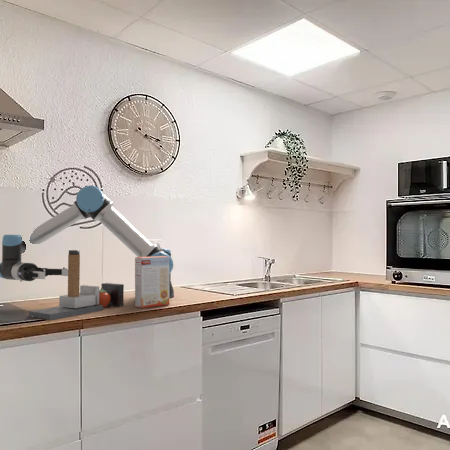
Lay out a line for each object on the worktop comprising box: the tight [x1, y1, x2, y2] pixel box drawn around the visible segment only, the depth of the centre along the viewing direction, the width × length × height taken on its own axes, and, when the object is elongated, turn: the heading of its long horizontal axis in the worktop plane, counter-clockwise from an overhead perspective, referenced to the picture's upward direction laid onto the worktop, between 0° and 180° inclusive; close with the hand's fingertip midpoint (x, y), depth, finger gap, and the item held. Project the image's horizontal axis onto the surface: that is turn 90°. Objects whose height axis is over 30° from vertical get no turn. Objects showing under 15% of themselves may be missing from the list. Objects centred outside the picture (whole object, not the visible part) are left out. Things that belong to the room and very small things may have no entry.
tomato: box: [98, 288, 111, 309], centre depth 181 cm, size 7×7×8 cm
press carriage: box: [58, 249, 100, 308], centre depth 171 cm, size 12×9×22 cm
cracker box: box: [134, 256, 170, 309], centre depth 185 cm, size 14×6×21 cm, turn 131°
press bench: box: [28, 282, 125, 321], centre depth 172 cm, size 37×12×9 cm, turn 149°
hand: (59, 274), depth 173 cm, fingers open, 13 cm apart
